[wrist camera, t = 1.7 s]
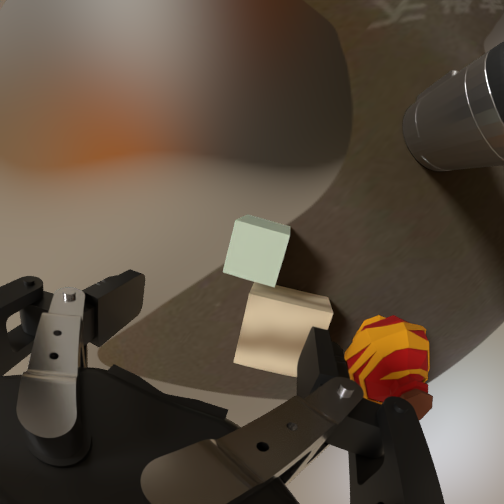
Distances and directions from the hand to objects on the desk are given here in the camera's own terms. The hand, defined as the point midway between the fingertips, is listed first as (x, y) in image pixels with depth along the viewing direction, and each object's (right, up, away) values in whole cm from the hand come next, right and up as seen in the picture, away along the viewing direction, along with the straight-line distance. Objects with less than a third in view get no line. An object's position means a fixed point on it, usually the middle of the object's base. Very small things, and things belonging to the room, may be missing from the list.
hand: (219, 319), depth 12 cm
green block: (+3, +4, +19) cm, 20 cm away
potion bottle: (+17, -7, +20) cm, 27 cm away
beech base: (+5, -6, +21) cm, 23 cm away
